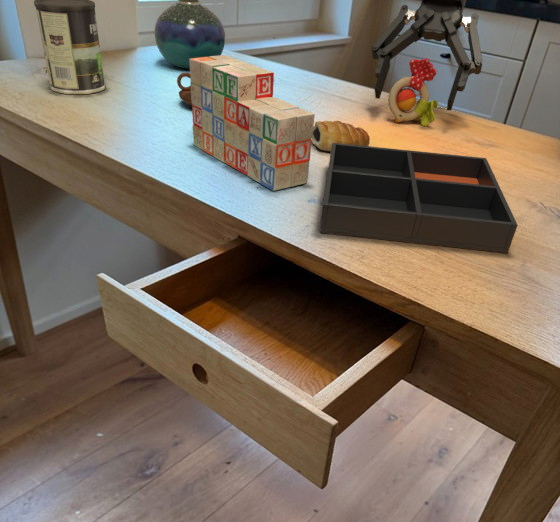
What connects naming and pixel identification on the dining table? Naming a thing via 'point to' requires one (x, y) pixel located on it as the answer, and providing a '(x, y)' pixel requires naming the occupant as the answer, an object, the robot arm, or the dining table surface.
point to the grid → (415, 198)
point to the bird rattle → (406, 98)
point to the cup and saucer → (184, 89)
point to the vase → (188, 33)
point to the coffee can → (71, 45)
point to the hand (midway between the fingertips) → (412, 100)
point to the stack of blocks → (249, 122)
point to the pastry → (338, 134)
